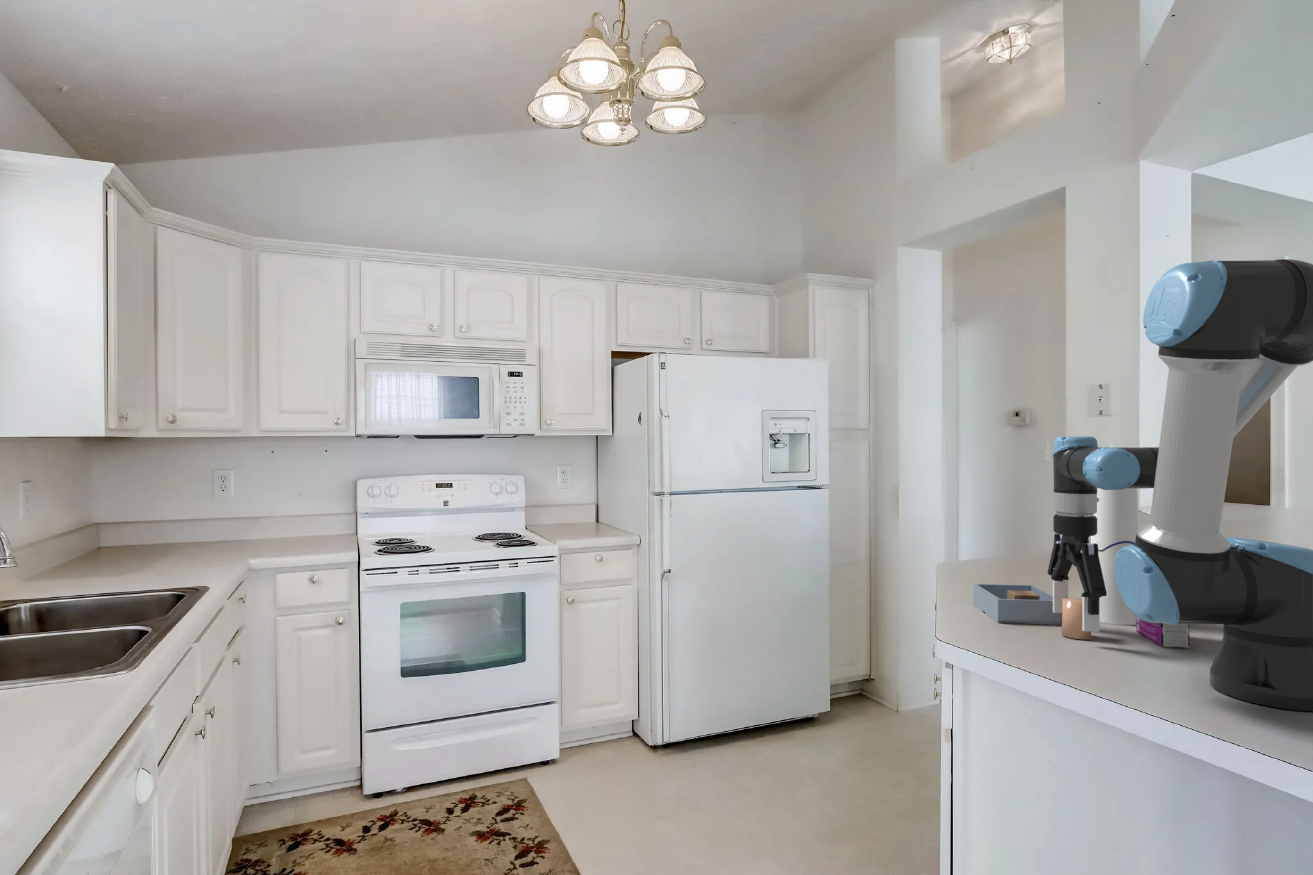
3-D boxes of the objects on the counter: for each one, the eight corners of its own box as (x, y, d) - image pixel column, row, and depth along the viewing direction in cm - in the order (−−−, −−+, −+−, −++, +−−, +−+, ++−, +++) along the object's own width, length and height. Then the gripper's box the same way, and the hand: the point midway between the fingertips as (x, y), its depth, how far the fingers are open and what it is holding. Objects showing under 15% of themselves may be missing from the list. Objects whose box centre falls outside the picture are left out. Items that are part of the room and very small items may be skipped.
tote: (1064, 624, 151) (1064, 601, 151) (998, 623, 153) (998, 599, 153) (1032, 606, 168) (1032, 585, 168) (973, 605, 170) (973, 583, 170)
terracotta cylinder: (1097, 639, 140) (1098, 603, 140) (1073, 639, 139) (1074, 602, 140) (1078, 633, 145) (1079, 598, 145) (1055, 632, 144) (1056, 597, 145)
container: (1148, 625, 151) (1146, 481, 151) (1106, 625, 151) (1105, 481, 151) (1122, 615, 159) (1121, 479, 160) (1083, 615, 160) (1082, 479, 160)
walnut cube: (1031, 613, 159) (1031, 591, 159) (1039, 619, 154) (1039, 595, 154) (1007, 613, 159) (1007, 590, 160) (1014, 618, 155) (1014, 595, 155)
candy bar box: (1134, 632, 145) (1133, 550, 145) (1161, 633, 144) (1161, 551, 144) (1161, 648, 134) (1160, 559, 134) (1191, 649, 133) (1190, 560, 133)
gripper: (1128, 522, 130) (1127, 640, 130) (1068, 507, 154) (1067, 606, 155) (1083, 522, 131) (1083, 638, 131) (1030, 507, 155) (1030, 605, 156)
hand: (1074, 621), depth 143 cm, fingers open, 13 cm apart
